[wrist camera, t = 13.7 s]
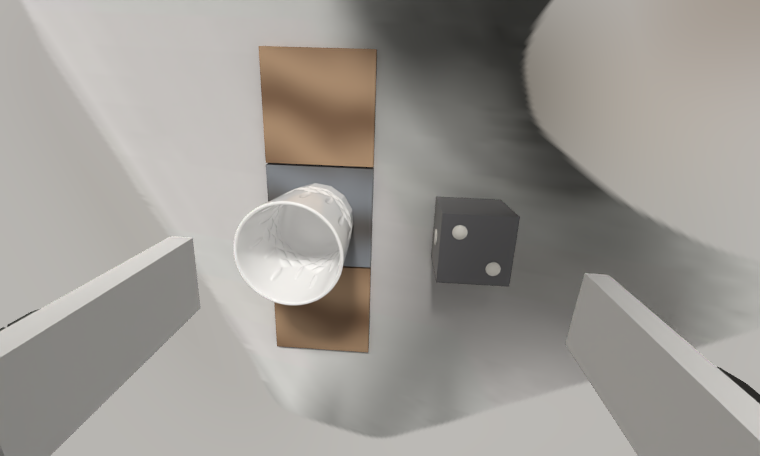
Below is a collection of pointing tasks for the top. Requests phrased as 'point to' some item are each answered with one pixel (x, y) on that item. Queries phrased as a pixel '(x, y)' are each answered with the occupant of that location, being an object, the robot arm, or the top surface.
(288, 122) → the board
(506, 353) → the top surface
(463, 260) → the die
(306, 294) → the white cup
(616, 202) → the top surface
